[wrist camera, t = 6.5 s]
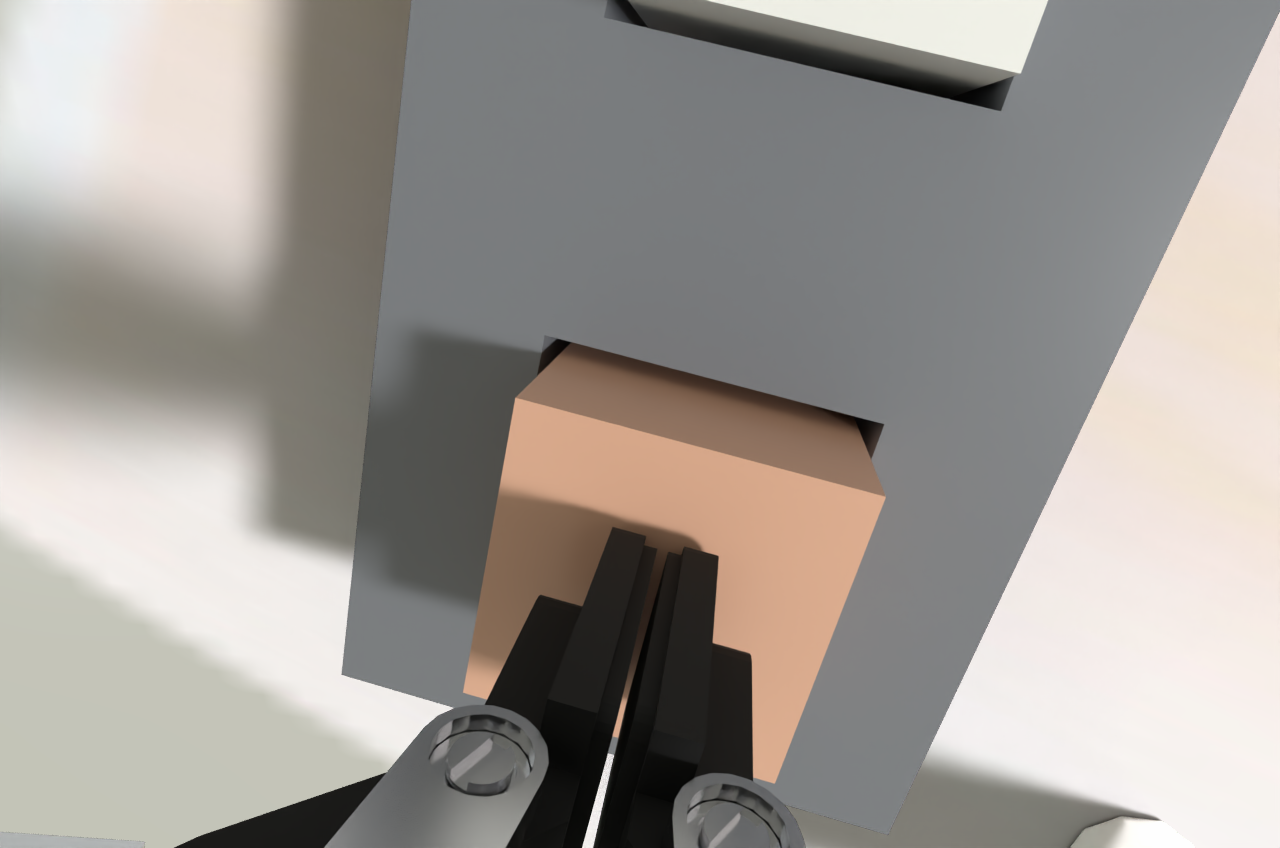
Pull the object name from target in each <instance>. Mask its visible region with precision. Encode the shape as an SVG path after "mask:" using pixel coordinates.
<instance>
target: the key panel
mask: <svg viewBox="0 0 1280 848" xmlns="http://www.w3.org/2000/svg"><path fill="white" fill-rule="evenodd" d="M1279 12H1280V0H1048V2H1047V5H1046V7H1045V10H1044V13H1043V16H1042V18H1041V21H1040V24H1039V26H1038V29H1037V32H1036V34H1035V37H1034V40H1033V42H1032V45H1031V48H1030V50H1029V53H1028V56H1027V58H1026V61H1025V64H1024V66H1023V69H1022V72H1021V74H1018V75H1015V76H1012V77H1009V78H1006V79H1003V80H1001V81H998V82H995V83H992V84H989V85H986V86H983V87H980V88H977V89H974V90H971V91H968V92H965V93H962V94H959V95H956V96H953V97H950V98H947V99H946V98H942V97H938V96H934V95H929V94H925V93H921V92H917V91H912V90H908V89H904V88H900V87H895V86H891V85H887V84H883V83H879V82H874V81H870V80H866V79H862V78H857V77H853V76H849V75H845V74H840V73H836V72H832V71H828V70H824V69H819V68H815V67H811V66H807V65H802V64H798V63H794V62H790V61H785V60H781V59H777V58H773V57H769V56H764V55H760V54H756V53H752V52H747V51H743V50H739V49H735V48H730V47H726V46H722V45H718V44H714V43H709V42H705V41H701V40H697V39H692V38H688V37H684V36H680V35H675V34H671V33H667V32H663V31H659V30H654V29H650V28H648V26H647V25H646V24H645V22H644V21H643V20H642V18H641V17H640V16H639V14H638V13H637V12H636V10H635V9H634V8H633V6H632V5H631V4H630V2H629V1H628V0H411V8H410V18H409V28H408V38H407V47H406V57H405V67H404V76H403V86H402V96H401V105H400V115H399V125H398V134H397V144H396V154H395V163H394V173H393V183H392V192H391V202H390V212H389V221H388V231H387V241H386V250H385V260H384V270H383V279H382V289H381V299H380V309H379V318H378V328H377V338H376V347H375V357H374V367H373V376H372V386H371V396H370V405H369V415H368V425H367V434H366V444H365V454H364V463H363V473H362V483H361V492H360V502H359V512H358V521H357V531H356V541H355V551H354V560H353V570H352V580H351V589H350V599H349V609H348V618H347V628H346V638H345V647H344V657H343V667H342V675H344V676H348V677H351V678H355V679H358V680H361V681H365V682H368V683H372V684H375V685H378V686H382V687H385V688H389V689H392V690H395V691H399V692H402V693H406V694H409V695H413V696H416V697H419V698H423V699H426V700H430V701H433V702H436V703H440V704H443V705H447V706H450V707H453V708H458V707H463V706H469V705H485V703H486V701H487V700H486V699H483V698H480V697H476V696H473V695H469V694H466V693H463V690H464V684H465V678H466V673H467V667H468V662H469V656H470V650H471V645H472V639H473V633H474V628H475V622H476V617H477V611H478V605H479V600H480V594H481V588H482V583H483V577H484V572H485V566H486V560H487V555H488V549H489V543H490V538H491V532H492V527H493V521H494V515H495V510H496V504H497V498H498V493H499V487H500V482H501V476H502V470H503V465H504V459H505V453H506V448H507V442H508V437H509V431H510V425H511V420H512V414H513V408H514V403H515V398H516V397H517V396H518V395H519V394H520V393H521V392H522V391H523V390H524V389H525V388H526V387H527V386H528V385H529V384H530V383H531V382H532V381H533V380H534V379H535V378H536V377H537V376H538V375H539V374H540V373H541V372H542V371H543V370H544V369H545V368H546V367H547V366H548V365H549V364H550V363H551V362H552V361H553V360H554V359H555V358H556V357H557V356H558V355H559V354H560V353H561V352H562V351H563V350H564V349H565V348H566V347H567V346H568V345H569V344H570V343H571V342H573V343H577V344H581V345H584V346H588V347H592V348H596V349H600V350H604V351H607V352H611V353H615V354H619V355H623V356H626V357H630V358H634V359H638V360H642V361H645V362H649V363H653V364H657V365H661V366H665V367H668V368H672V369H676V370H680V371H684V372H687V373H691V374H695V375H699V376H703V377H706V378H710V379H714V380H718V381H722V382H726V383H729V384H733V385H737V386H741V387H745V388H748V389H752V390H756V391H760V392H764V393H767V394H771V395H775V396H779V397H783V398H787V399H790V400H794V401H798V402H802V403H806V404H809V405H813V406H817V407H821V408H825V409H828V410H832V411H836V412H840V413H844V414H848V415H851V416H854V419H855V421H856V424H857V426H858V429H859V431H860V434H861V436H862V439H863V441H864V444H865V446H866V448H867V451H868V453H869V456H870V458H871V461H872V463H873V466H874V468H875V471H876V473H877V476H878V478H879V481H880V483H881V486H882V488H883V491H884V493H885V496H886V498H885V501H884V503H883V506H882V509H881V511H880V514H879V516H878V519H877V521H876V524H875V527H874V529H873V532H872V534H871V537H870V540H869V542H868V545H867V547H866V550H865V552H864V555H863V558H862V560H861V563H860V565H859V568H858V571H857V573H856V576H855V578H854V581H853V583H852V586H851V589H850V591H849V594H848V596H847V599H846V601H845V604H844V607H843V609H842V612H841V614H840V617H839V620H838V622H837V625H836V627H835V630H834V632H833V635H832V638H831V640H830V643H829V645H828V648H827V650H826V653H825V656H824V658H823V661H822V663H821V666H820V669H819V671H818V674H817V676H816V679H815V681H814V684H813V687H812V689H811V692H810V694H809V697H808V700H807V702H806V705H805V707H804V710H803V712H802V715H801V718H800V720H799V723H798V725H797V728H796V730H795V733H794V736H793V738H792V741H791V743H790V746H789V749H788V751H787V754H786V756H785V759H784V761H783V764H782V767H781V769H780V772H779V774H778V777H777V779H776V782H775V784H774V783H771V782H767V781H764V780H760V779H757V778H753V782H755V783H757V784H758V785H760V786H762V787H764V788H766V789H767V790H769V791H770V792H771V793H772V794H773V795H774V796H775V797H777V798H778V799H779V800H780V801H781V802H782V803H784V805H787V806H791V807H794V808H798V809H801V810H804V811H808V812H811V813H815V814H818V815H821V816H825V817H828V818H832V819H835V820H838V821H842V822H845V823H849V824H852V825H856V826H859V827H862V828H866V829H869V830H873V831H876V832H879V833H883V834H886V835H888V834H889V832H890V830H891V828H892V826H893V824H894V821H895V819H896V817H897V815H898V813H899V811H900V809H901V807H902V805H903V803H904V800H905V798H906V796H907V794H908V792H909V790H910V788H911V786H912V784H913V782H914V779H915V777H916V775H917V773H918V771H919V769H920V767H921V765H922V763H923V761H924V758H925V756H926V754H927V752H928V750H929V748H930V746H931V744H932V742H933V739H934V737H935V735H936V733H937V731H938V729H939V727H940V725H941V723H942V721H943V718H944V716H945V714H946V712H947V710H948V708H949V706H950V704H951V702H952V700H953V697H954V695H955V693H956V691H957V689H958V687H959V685H960V683H961V681H962V679H963V676H964V674H965V672H966V670H967V668H968V666H969V664H970V662H971V660H972V657H973V655H974V653H975V651H976V649H977V647H978V645H979V643H980V641H981V639H982V636H983V634H984V632H985V630H986V628H987V626H988V624H989V622H990V620H991V618H992V615H993V613H994V611H995V609H996V607H997V605H998V603H999V601H1000V599H1001V597H1002V594H1003V592H1004V590H1005V588H1006V586H1007V584H1008V582H1009V580H1010V578H1011V575H1012V573H1013V571H1014V569H1015V567H1016V565H1017V563H1018V561H1019V559H1020V557H1021V554H1022V552H1023V550H1024V548H1025V546H1026V544H1027V542H1028V540H1029V538H1030V536H1031V533H1032V531H1033V529H1034V527H1035V525H1036V523H1037V521H1038V519H1039V517H1040V515H1041V512H1042V510H1043V508H1044V506H1045V504H1046V502H1047V500H1048V498H1049V496H1050V493H1051V491H1052V489H1053V487H1054V485H1055V483H1056V481H1057V479H1058V477H1059V475H1060V472H1061V470H1062V468H1063V466H1064V464H1065V462H1066V460H1067V458H1068V456H1069V454H1070V451H1071V449H1072V447H1073V445H1074V443H1075V441H1076V439H1077V437H1078V435H1079V433H1080V430H1081V428H1082V426H1083V424H1084V422H1085V420H1086V418H1087V416H1088V414H1089V411H1090V409H1091V407H1092V405H1093V403H1094V401H1095V399H1096V397H1097V395H1098V393H1099V390H1100V388H1101V386H1102V384H1103V382H1104V380H1105V378H1106V376H1107V374H1108V372H1109V369H1110V367H1111V365H1112V363H1113V361H1114V359H1115V357H1116V355H1117V353H1118V350H1119V348H1120V346H1121V344H1122V342H1123V340H1124V338H1125V336H1126V334H1127V332H1128V329H1129V327H1130V325H1131V323H1132V321H1133V319H1134V317H1135V315H1136V313H1137V311H1138V308H1139V306H1140V304H1141V302H1142V300H1143V298H1144V296H1145V294H1146V292H1147V290H1148V287H1149V285H1150V283H1151V281H1152V279H1153V277H1154V275H1155V273H1156V271H1157V268H1158V266H1159V264H1160V262H1161V260H1162V258H1163V256H1164V254H1165V252H1166V250H1167V247H1168V245H1169V243H1170V241H1171V239H1172V237H1173V235H1174V233H1175V231H1176V229H1177V226H1178V224H1179V222H1180V220H1181V218H1182V216H1183V214H1184V212H1185V210H1186V208H1187V205H1188V203H1189V201H1190V199H1191V197H1192V195H1193V193H1194V191H1195V189H1196V186H1197V184H1198V182H1199V180H1200V178H1201V176H1202V174H1203V172H1204V170H1205V168H1206V165H1207V163H1208V161H1209V159H1210V157H1211V155H1212V153H1213V151H1214V149H1215V147H1216V144H1217V142H1218V140H1219V138H1220V136H1221V134H1222V132H1223V130H1224V128H1225V126H1226V123H1227V121H1228V119H1229V117H1230V115H1231V113H1232V111H1233V109H1234V107H1235V104H1236V102H1237V100H1238V98H1239V96H1240V94H1241V92H1242V90H1243V88H1244V86H1245V83H1246V81H1247V79H1248V77H1249V75H1250V73H1251V71H1252V69H1253V67H1254V65H1255V62H1256V60H1257V58H1258V56H1259V54H1260V52H1261V50H1262V48H1263V46H1264V44H1265V41H1266V39H1267V37H1268V35H1269V33H1270V31H1271V29H1272V27H1273V25H1274V22H1275V20H1276V18H1277V16H1278V14H1279ZM617 741H618V738H617V737H613V736H612V740H611V744H610V747H609V751H608V753H610V754H615V750H616V745H617Z"/></svg>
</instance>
